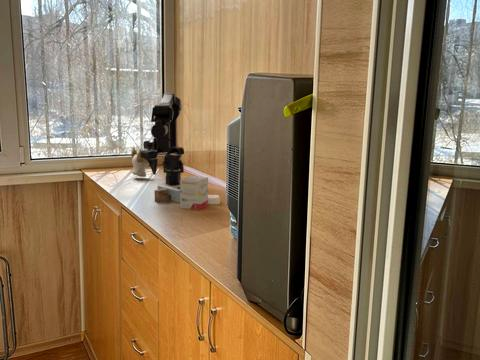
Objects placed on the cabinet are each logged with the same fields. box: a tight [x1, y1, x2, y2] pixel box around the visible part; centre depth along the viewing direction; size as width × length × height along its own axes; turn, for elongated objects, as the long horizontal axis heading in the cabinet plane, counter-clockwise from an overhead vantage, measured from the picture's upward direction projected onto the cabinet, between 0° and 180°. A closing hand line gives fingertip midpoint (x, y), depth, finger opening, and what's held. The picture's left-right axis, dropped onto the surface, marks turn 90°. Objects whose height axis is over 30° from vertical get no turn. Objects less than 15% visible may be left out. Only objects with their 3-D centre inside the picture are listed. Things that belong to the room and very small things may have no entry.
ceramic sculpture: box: [130, 146, 150, 178], centre depth 241 cm, size 11×9×15 cm
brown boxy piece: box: [154, 184, 180, 204], centre depth 201 cm, size 14×2×5 cm, turn 139°
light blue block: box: [157, 184, 180, 203], centre depth 201 cm, size 2×13×5 cm, turn 49°
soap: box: [208, 194, 221, 205], centre depth 198 cm, size 9×6×3 cm, turn 96°
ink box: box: [179, 175, 209, 211], centre depth 190 cm, size 9×9×12 cm
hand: (163, 173), depth 202 cm, fingers open, 9 cm apart
